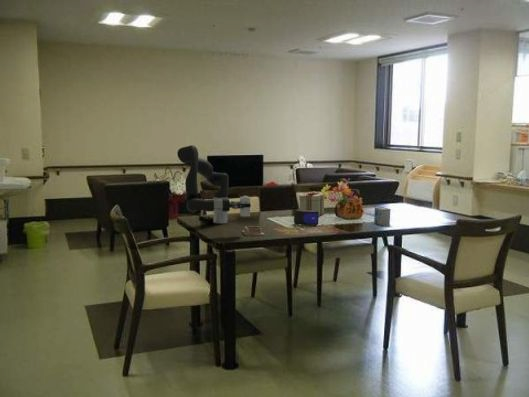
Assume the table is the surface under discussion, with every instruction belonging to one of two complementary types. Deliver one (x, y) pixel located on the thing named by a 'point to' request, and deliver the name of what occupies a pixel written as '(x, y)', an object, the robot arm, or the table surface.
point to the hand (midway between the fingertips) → (249, 204)
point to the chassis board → (253, 231)
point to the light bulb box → (382, 216)
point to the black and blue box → (306, 217)
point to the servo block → (245, 210)
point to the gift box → (312, 202)
